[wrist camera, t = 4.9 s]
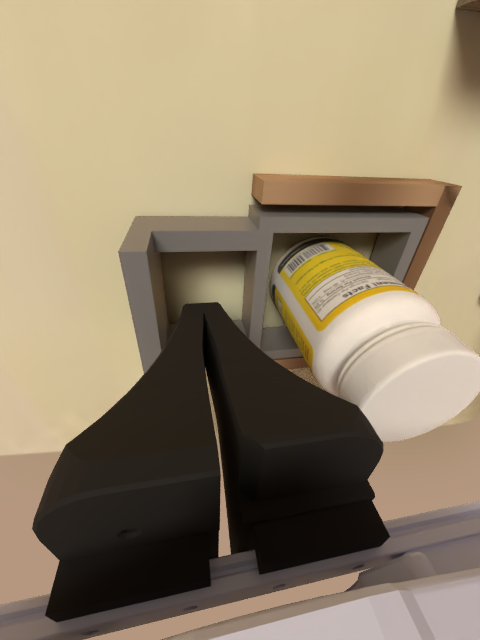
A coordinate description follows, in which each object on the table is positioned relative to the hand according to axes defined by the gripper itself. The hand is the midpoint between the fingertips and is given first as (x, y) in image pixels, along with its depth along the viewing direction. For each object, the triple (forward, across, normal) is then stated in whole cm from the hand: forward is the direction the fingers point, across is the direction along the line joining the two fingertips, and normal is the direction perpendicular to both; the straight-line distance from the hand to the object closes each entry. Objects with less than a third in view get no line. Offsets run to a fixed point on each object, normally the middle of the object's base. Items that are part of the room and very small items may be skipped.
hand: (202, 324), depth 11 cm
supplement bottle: (+4, -6, 0) cm, 7 cm away
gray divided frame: (+4, -4, 0) cm, 5 cm away
